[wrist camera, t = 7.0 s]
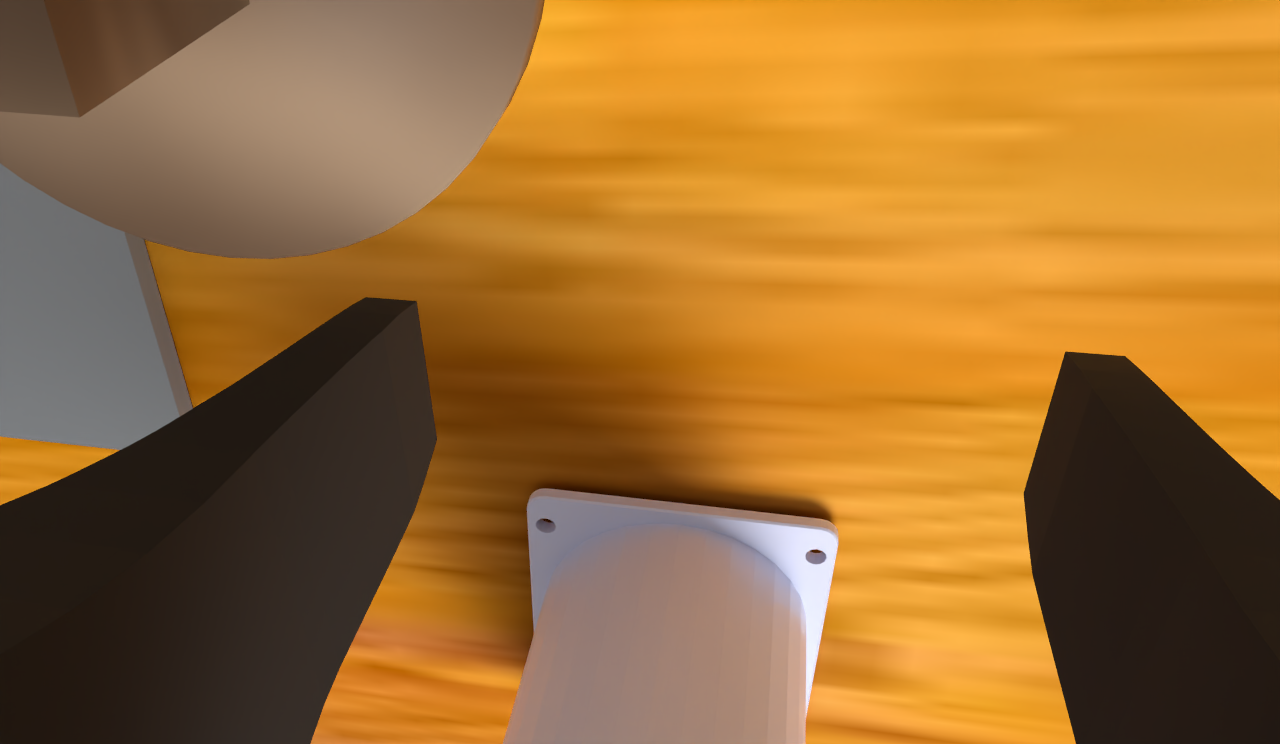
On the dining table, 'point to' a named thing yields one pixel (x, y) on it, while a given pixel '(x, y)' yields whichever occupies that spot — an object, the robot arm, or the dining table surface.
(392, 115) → the lid
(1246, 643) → the robot arm
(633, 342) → the dining table surface
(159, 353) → the coaster
